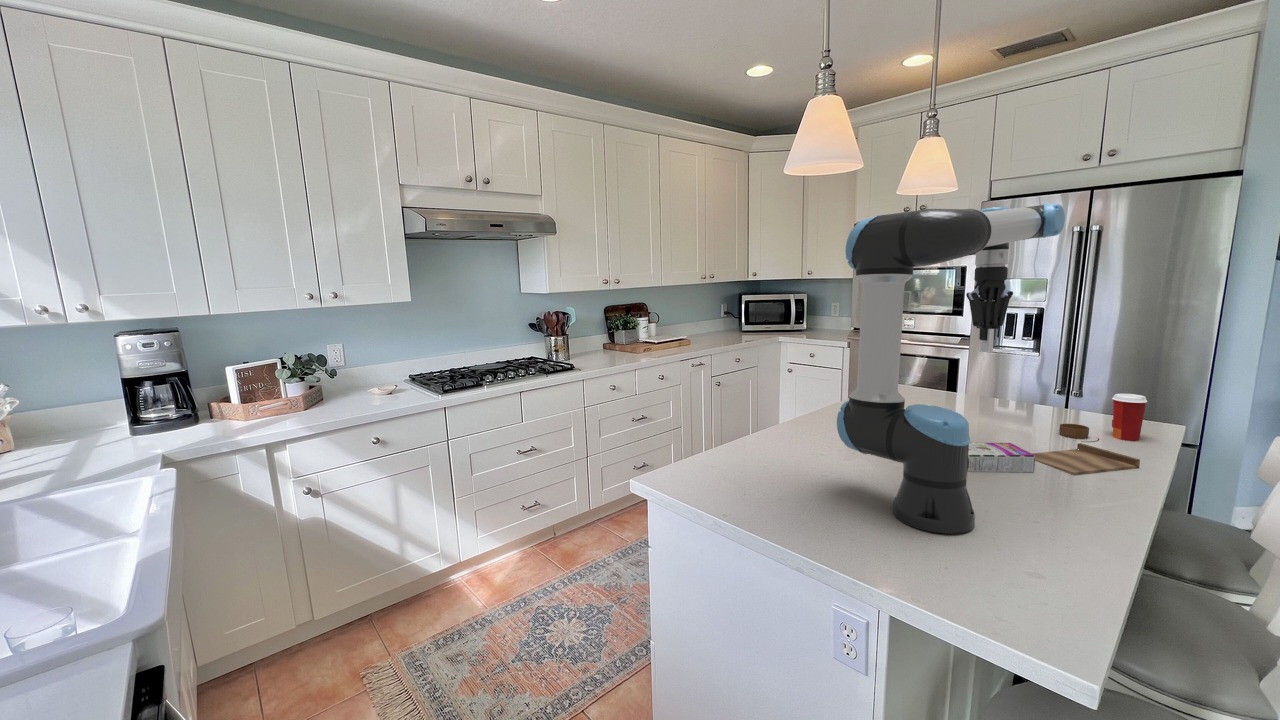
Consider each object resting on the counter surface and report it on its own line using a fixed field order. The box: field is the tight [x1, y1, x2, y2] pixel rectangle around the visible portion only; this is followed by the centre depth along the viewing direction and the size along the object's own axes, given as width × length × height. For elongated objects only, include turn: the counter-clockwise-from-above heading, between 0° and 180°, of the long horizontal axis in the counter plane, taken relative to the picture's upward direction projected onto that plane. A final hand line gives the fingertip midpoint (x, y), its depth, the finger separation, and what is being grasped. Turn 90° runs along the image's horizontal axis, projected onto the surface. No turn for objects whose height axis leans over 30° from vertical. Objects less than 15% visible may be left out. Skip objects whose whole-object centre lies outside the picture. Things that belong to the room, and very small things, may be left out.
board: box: [1031, 442, 1141, 476], centre depth 139 cm, size 20×15×2 cm
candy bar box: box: [967, 442, 1036, 474], centre depth 138 cm, size 11×5×16 cm
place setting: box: [1058, 419, 1113, 443], centre depth 157 cm, size 18×20×6 cm
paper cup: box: [1111, 393, 1148, 442], centre depth 155 cm, size 8×8×14 cm
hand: (986, 351), depth 145 cm, fingers closed
